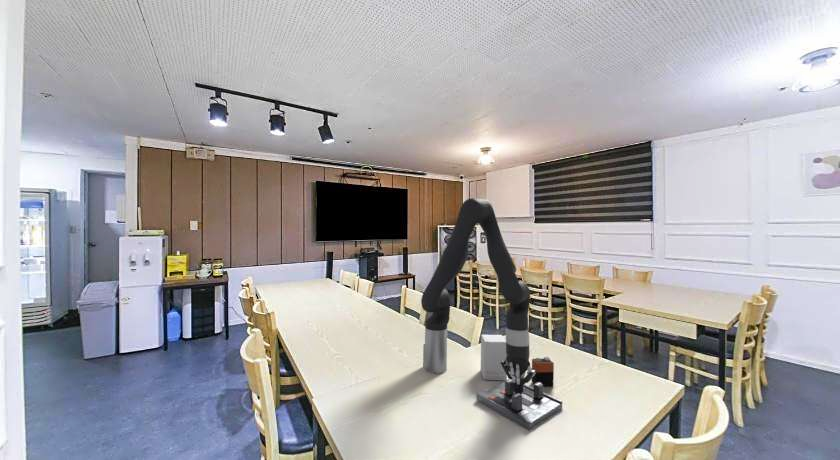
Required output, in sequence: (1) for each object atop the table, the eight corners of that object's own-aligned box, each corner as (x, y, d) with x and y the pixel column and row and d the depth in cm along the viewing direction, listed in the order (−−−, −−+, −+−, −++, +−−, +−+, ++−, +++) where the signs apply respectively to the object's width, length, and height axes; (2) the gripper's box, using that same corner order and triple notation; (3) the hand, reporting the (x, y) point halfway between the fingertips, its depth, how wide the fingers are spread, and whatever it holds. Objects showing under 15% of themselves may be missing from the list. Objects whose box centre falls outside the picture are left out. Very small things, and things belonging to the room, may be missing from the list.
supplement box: (507, 381, 122) (507, 342, 122) (483, 380, 122) (484, 341, 122) (502, 370, 131) (502, 334, 131) (480, 370, 131) (480, 333, 131)
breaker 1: (504, 392, 108) (505, 380, 108) (509, 390, 110) (509, 378, 110) (509, 395, 106) (510, 382, 107) (514, 393, 108) (514, 380, 108)
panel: (476, 400, 107) (476, 393, 107) (510, 384, 119) (510, 377, 119) (528, 431, 91) (528, 422, 92) (562, 409, 103) (562, 401, 103)
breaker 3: (533, 396, 106) (533, 383, 106) (537, 393, 108) (537, 381, 108) (538, 398, 105) (539, 386, 105) (543, 396, 106) (543, 383, 106)
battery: (553, 387, 118) (554, 360, 118) (536, 387, 117) (536, 360, 117) (548, 381, 122) (548, 355, 122) (531, 382, 122) (531, 356, 122)
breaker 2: (511, 408, 99) (511, 394, 99) (516, 405, 100) (516, 392, 100) (517, 411, 97) (517, 397, 97) (522, 408, 99) (522, 394, 99)
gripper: (494, 339, 109) (495, 390, 108) (528, 349, 98) (529, 406, 98) (507, 334, 113) (508, 383, 113) (541, 344, 103) (542, 398, 103)
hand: (518, 394), depth 105 cm, fingers closed
